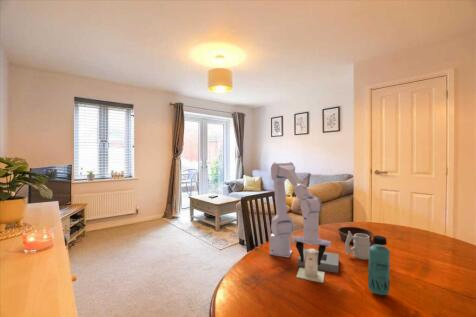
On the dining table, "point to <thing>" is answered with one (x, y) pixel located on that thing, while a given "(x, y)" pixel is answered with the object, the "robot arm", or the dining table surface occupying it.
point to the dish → (353, 232)
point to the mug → (358, 245)
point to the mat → (318, 278)
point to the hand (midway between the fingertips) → (310, 262)
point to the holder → (324, 262)
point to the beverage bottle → (379, 266)
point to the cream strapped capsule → (311, 262)
